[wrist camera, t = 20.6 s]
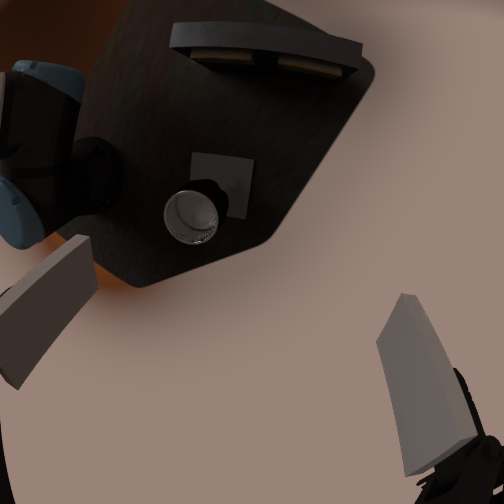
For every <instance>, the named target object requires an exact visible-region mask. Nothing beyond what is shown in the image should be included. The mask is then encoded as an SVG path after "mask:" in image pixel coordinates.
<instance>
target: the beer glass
mask: <svg viewBox="0 0 504 504" xmlns="http://www.w3.org/2000/svg"><path fill="white" fill-rule="evenodd" d="M237 192H238V182H237V179H236V177H235V176H234V175H233V173H231V172H230V171H229V170H227V169H224V168H214V169H212V170H210V171H208V172H207V173H206V174H205V175H204V177H200V178H197V179H194V180H191V181H189V182H188V183H186V184H185V185H183V186H182V187H181V188H180V189H179V190H178V191H177V192H176V193H175V194H174V195H173V196H171V197H170V199H169V200H168V201H167V203H166V205H165V208H164V221H165V224H166V227H167V228H168V230H169V232H170V233H171V234H172V235H173V236H174V237H175V238H176V239H178V240H179V241H181V242H184V243H187V244H193V245H195V244H201V243H204V242H206V241H208V240H209V239H210V238H211V237H212V236H213V235H214V234H215V232H216V231H217V230H218V229H219V228H220V226H221V225H222V223H223V222H224V220H225V218H226V216H227V214H228V211H229V207H230V201H232V200H233V199H234V198H235V196H236V194H237Z"/></svg>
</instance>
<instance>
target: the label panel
mask: <svg viewBox="0 0 504 504" xmlns="http://www.w3.org/2000/svg"><path fill="white" fill-rule="evenodd" d="M362 46H363V44H362V43H358V42H356V41H352V40H348V39H345V38H341V37H336V36H333V35H329V34H324V33H319V32H315V31H309V30H304V29H298V28H292V27H285V26H277V25H269V24H259V23H245V22H185V23H174V25H173V29H172V34H171V40H170V45H169V48H171V49H173V50H175V51H177V52H179V53H181V54H183V55H185V56H187V57H188V58H190V59H192V60H194V61H196V62H197V63H199V64H201V65H203V66H204V67H206V68H208V69H210V70H229V71H242V72H252V73H261V74H269V75H276V76H283V77H289V78H295V79H300V80H306V81H311V82H315V83H320V84H325V85H329V86H334V85H336V84H337V83H339V82H340V81H342V80H343V79H345V78H346V77H348V76H350V75H351V74H353V73H354V72H356V71H357V70H359V69H360V62H361V55H362Z"/></svg>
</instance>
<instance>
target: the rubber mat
mask: <svg viewBox="0 0 504 504" xmlns="http://www.w3.org/2000/svg"><path fill="white" fill-rule="evenodd" d="M253 166H254V160H253V159H246V158H239V157H232V156H224V155H216V154H207V153H198V152H192V161H191V173H190V181H191V180H194V179H197V178H200V177H204V175H205V174H206V173H207V172H208V171H210V170H212V169H214V168H224V169H227V170H229V171H230V172H231V173H233V175H234V176H235V177H236V179H237V182H238V192H237V194H236V196H235V198H234V199H233V200H232V201H230V207H229V211H228V214H227V216H229V217H235V218H241V219H246V215H247V208H248V201H249V194H250V187H251V180H252V173H253Z"/></svg>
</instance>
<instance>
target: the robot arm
mask: <svg viewBox="0 0 504 504" xmlns="http://www.w3.org/2000/svg"><path fill="white" fill-rule="evenodd" d="M85 82H86V79H85V76H84V74H83V73H82V72H81V71H79V70H76V69H73V68H70V67H66V66H62V65H56V64H52V63H45V62H36V61H28V60H21V61H18V62H16V64H15V66H14V67H13V71H10V72H1V73H0V160H1V165H0V235H1V236H2V237H3V238H4V240H5V241H6V242H7V243H9V244H10V245H11V246H13V247H14V248H16V249H20V250H25V249H28V248H30V247H31V246H33V245H35V244H36V243H39V242H42V241H43V240H44V239H45V238H46V237H48V236H49V235H50V234H52V233H53V232H55V231H56V230H58V229H59V228H60V227H62V226H63V225H65V224H66V223H68V222H69V221H71V220H72V219H74V218H75V217H77V216H83V215H93V214H98V213H100V212H102V211H104V210H105V209H107V208H109V207H110V206H111V205H112V204H113V203H114V202H115V201H116V199H117V198H118V196H119V193H120V190H121V186H122V168H121V163H120V160H119V158H118V155H117V154H116V152H115V150H114V149H113V148H112V146H111V145H110V144H109V143H107V142H106V141H105V140H103V139H101V138H98V137H87V138H82V139H79V140H77V141H75V142H73V141H74V135H75V130H76V125H77V120H78V115H79V111H80V107H81V105H82V103H83V102H82V96H83V91H84V87H85ZM98 289H99V288H98V283H97V279H96V273H95V267H94V261H93V255H92V249H91V242H90V237H89V236H84V235H79V234H77V235H76V236H74V237H73V238H71V239H70V240H69V241H67V242H66V243H65V244H63V245H62V246H61V247H59V248H58V249H57V250H56V251H54V252H53V253H52V254H50V255H49V256H48V257H47V258H45V259H44V260H43V261H42V262H40V263H39V264H38V265H37V266H35V268H33V269H32V270H31V271H30V272H28V273H27V274H26V275H25V276H24V277H22V278H21V279H20V280H19V281H18V282H17V283H16V284H15V285H13V286H11V287H10V288H8V289H7V290H6V291H4V292H3V293H2V294H1V295H0V374H1V375H2V377H3V378H4V379H5V381H6V382H7V383H9V384H10V385H11V386H13V387H14V388H15V389H16V390H19V388H20V387H21V386H22V384H23V383H24V381H25V380H26V378H27V377H28V376H29V374H30V373H31V371H32V370H33V369H34V367H35V366H36V364H37V363H38V362H39V360H40V359H41V358H42V356H43V355H44V354H45V352H46V351H47V350H48V348H49V347H50V346H51V345H52V343H53V342H54V341H55V339H56V338H57V337H58V336H59V334H60V333H61V332H62V331H63V330H64V328H65V327H66V326H67V325H68V323H69V322H70V321H71V320H72V319H73V318H74V316H75V315H76V314H77V313H78V311H79V310H80V309H81V308H82V307H83V306H84V305H85V304H86V302H87V301H88V300H89V299H90V298H91V297H92V295H93V294H94V293H95V292H96V291H97V290H98ZM376 344H377V347H378V350H379V354H380V358H381V361H382V365H383V369H384V373H385V377H386V381H387V385H388V388H389V392H390V397H391V401H392V405H393V410H394V415H395V419H396V425H397V429H398V435H399V441H400V446H401V452H402V459H403V465H404V472H405V477H408V476H412V475H417V474H421V473H424V472H425V471H427V470H429V469H430V468H432V467H434V469H435V472H433V473H432V474H430V475H428V476H426V477H425V478H423V479H421V480H420V481H419V482H418V483H417V484H416V485H417V486H419V485H421V484H423V483H424V482H426V484H425V485H423V486H422V487H421V488H422V489H423V490H422V491H421V493H420V495H419V497H418V498H417V500H416V502H415V503H414V504H504V446H501V444H500V442H499V440H498V439H496V438H495V437H494V436H491V435H489V436H486V435H485V432H484V430H483V427H482V424H481V421H480V418H479V415H478V412H477V410H476V407H475V404H474V402H473V401H472V397H471V394H470V392H468V387H467V384H466V382H465V380H464V378H463V376H462V375H461V374H460V373H459V371H458V370H457V369H456V368H452V365H451V364H450V361H449V359H448V357H447V355H446V352H445V350H444V348H443V346H442V344H441V342H440V340H439V338H438V336H437V334H436V332H435V330H434V328H433V326H432V324H431V322H430V320H429V318H428V317H427V315H426V313H425V311H424V309H423V307H422V306H421V304H420V302H419V300H418V298H417V297H416V296H415V295H408V294H401V295H400V297H399V299H398V301H397V303H396V305H395V307H394V309H393V311H392V313H391V315H390V317H389V319H388V321H387V323H386V325H385V327H384V329H383V330H382V332H381V334H380V336H379V337H378V339H377V341H376ZM502 484H503V491H501V492H499V493H498V494H496V495H493V490H494V489H496V488H497V487H499V486H501V485H502ZM0 504H15V501H14V498H13V494H12V490H11V486H10V482H9V477H8V473H7V468H6V462H5V456H4V451H3V443H2V435H1V424H0Z"/></svg>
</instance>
